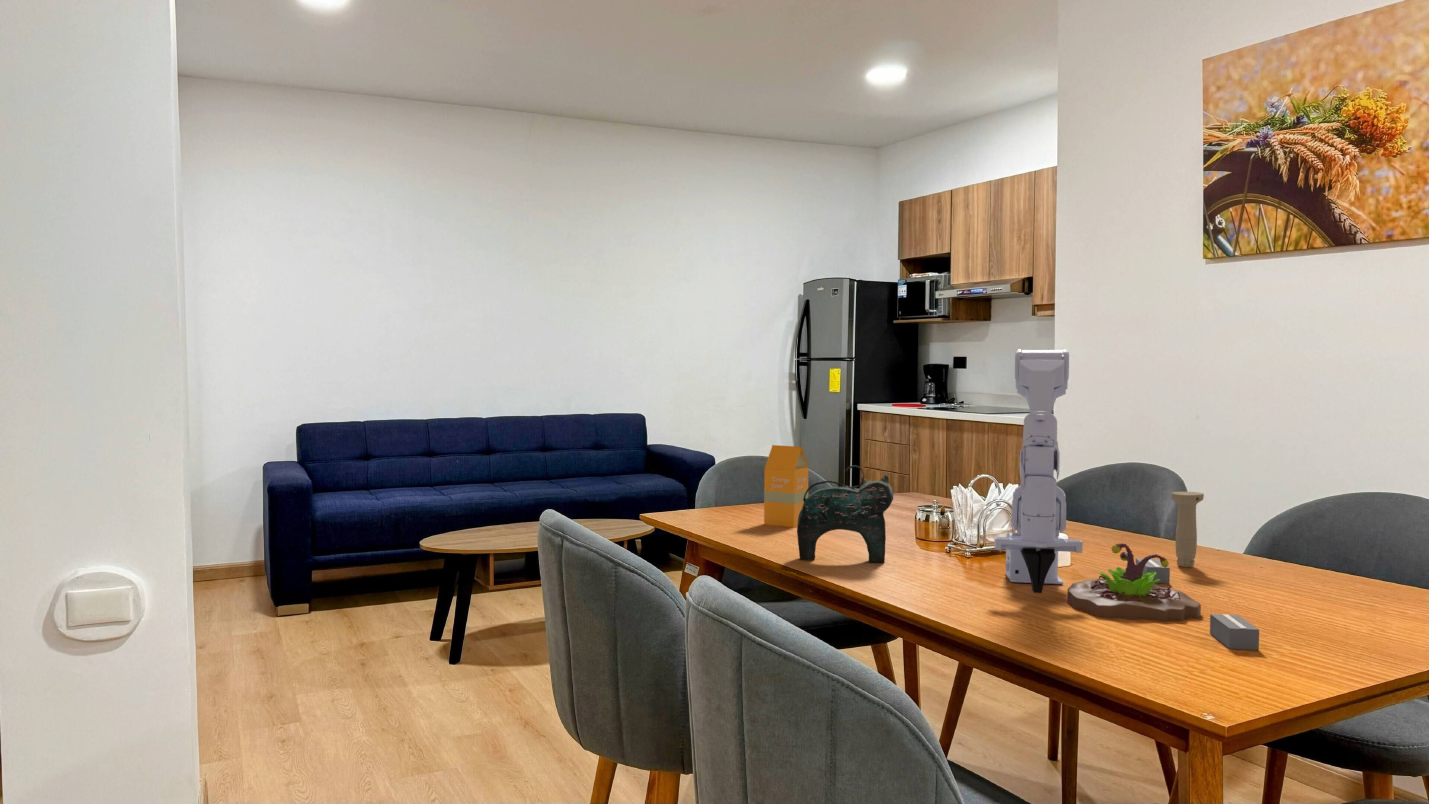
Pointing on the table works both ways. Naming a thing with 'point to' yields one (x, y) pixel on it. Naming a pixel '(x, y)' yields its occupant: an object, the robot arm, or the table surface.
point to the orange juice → (784, 485)
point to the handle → (1186, 526)
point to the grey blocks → (1216, 617)
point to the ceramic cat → (846, 515)
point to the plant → (1132, 594)
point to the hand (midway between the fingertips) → (1036, 591)
